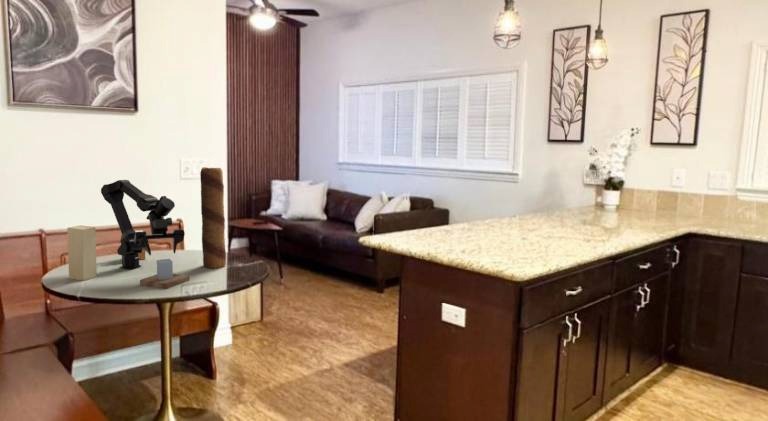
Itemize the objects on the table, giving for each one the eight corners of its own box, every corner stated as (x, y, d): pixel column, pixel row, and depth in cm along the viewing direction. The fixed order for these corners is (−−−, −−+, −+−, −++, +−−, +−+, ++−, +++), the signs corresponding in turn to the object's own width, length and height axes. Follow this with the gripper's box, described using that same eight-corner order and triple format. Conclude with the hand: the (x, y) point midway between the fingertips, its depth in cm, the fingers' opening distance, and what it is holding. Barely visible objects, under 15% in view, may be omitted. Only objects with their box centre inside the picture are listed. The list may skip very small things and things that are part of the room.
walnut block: (140, 284, 212) (139, 279, 211) (162, 277, 224) (162, 272, 224) (167, 288, 208) (167, 283, 208) (189, 280, 220) (189, 275, 220)
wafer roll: (196, 267, 242) (194, 167, 236) (212, 262, 252) (211, 166, 246) (215, 270, 238) (214, 168, 232) (230, 265, 248) (229, 167, 242)
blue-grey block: (157, 277, 216) (156, 260, 215) (170, 275, 219) (169, 258, 218) (159, 280, 212) (158, 262, 211) (172, 278, 215) (172, 261, 214)
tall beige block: (99, 276, 221) (97, 226, 219) (83, 281, 215) (81, 229, 212) (84, 274, 224) (82, 224, 221) (68, 278, 217) (66, 227, 214)
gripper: (134, 212, 214) (139, 244, 206) (183, 210, 224) (189, 241, 216) (132, 228, 222) (136, 260, 214) (179, 225, 231) (185, 256, 224)
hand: (162, 253), depth 217 cm, fingers open, 9 cm apart
